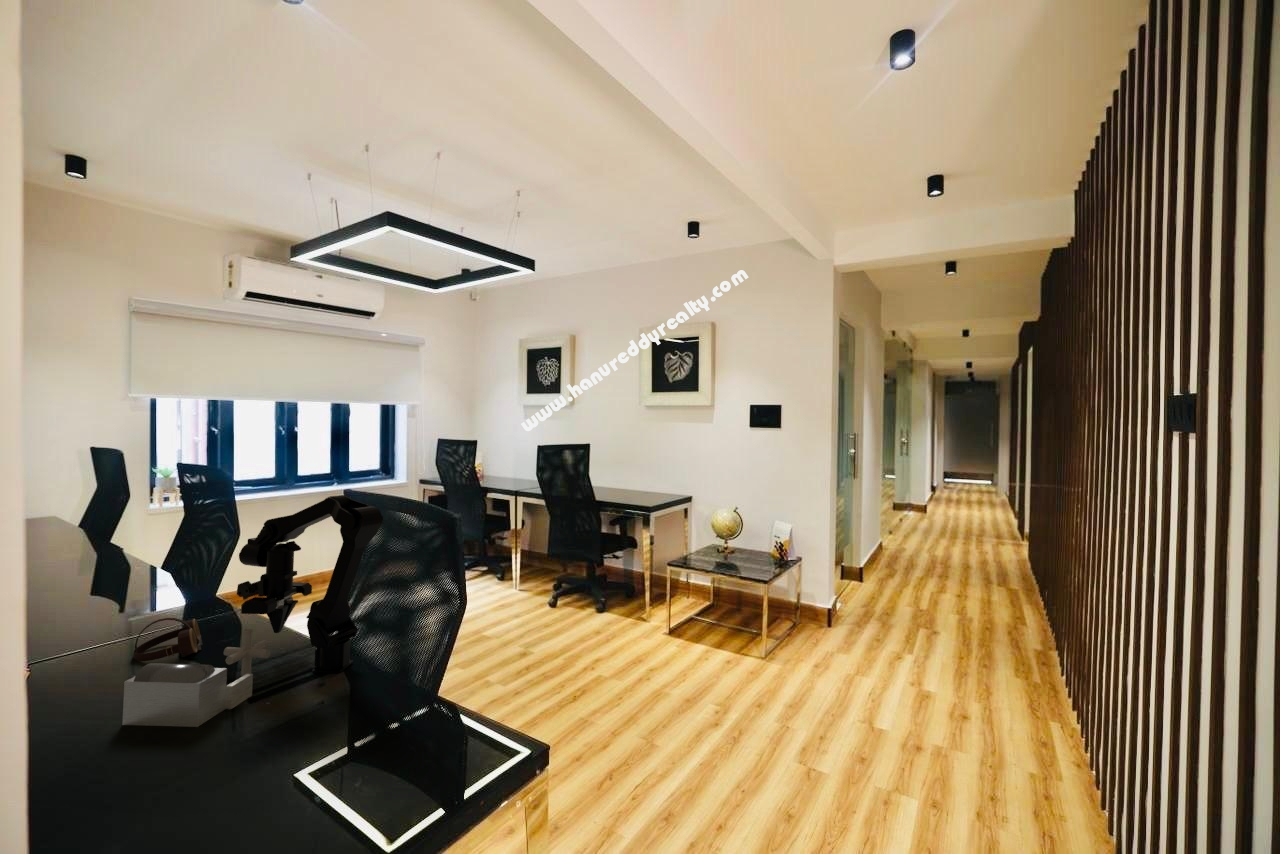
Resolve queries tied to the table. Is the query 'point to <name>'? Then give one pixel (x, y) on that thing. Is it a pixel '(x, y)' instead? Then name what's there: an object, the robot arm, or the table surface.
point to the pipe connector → (246, 652)
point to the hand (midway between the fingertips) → (277, 632)
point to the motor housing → (180, 694)
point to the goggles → (185, 639)
